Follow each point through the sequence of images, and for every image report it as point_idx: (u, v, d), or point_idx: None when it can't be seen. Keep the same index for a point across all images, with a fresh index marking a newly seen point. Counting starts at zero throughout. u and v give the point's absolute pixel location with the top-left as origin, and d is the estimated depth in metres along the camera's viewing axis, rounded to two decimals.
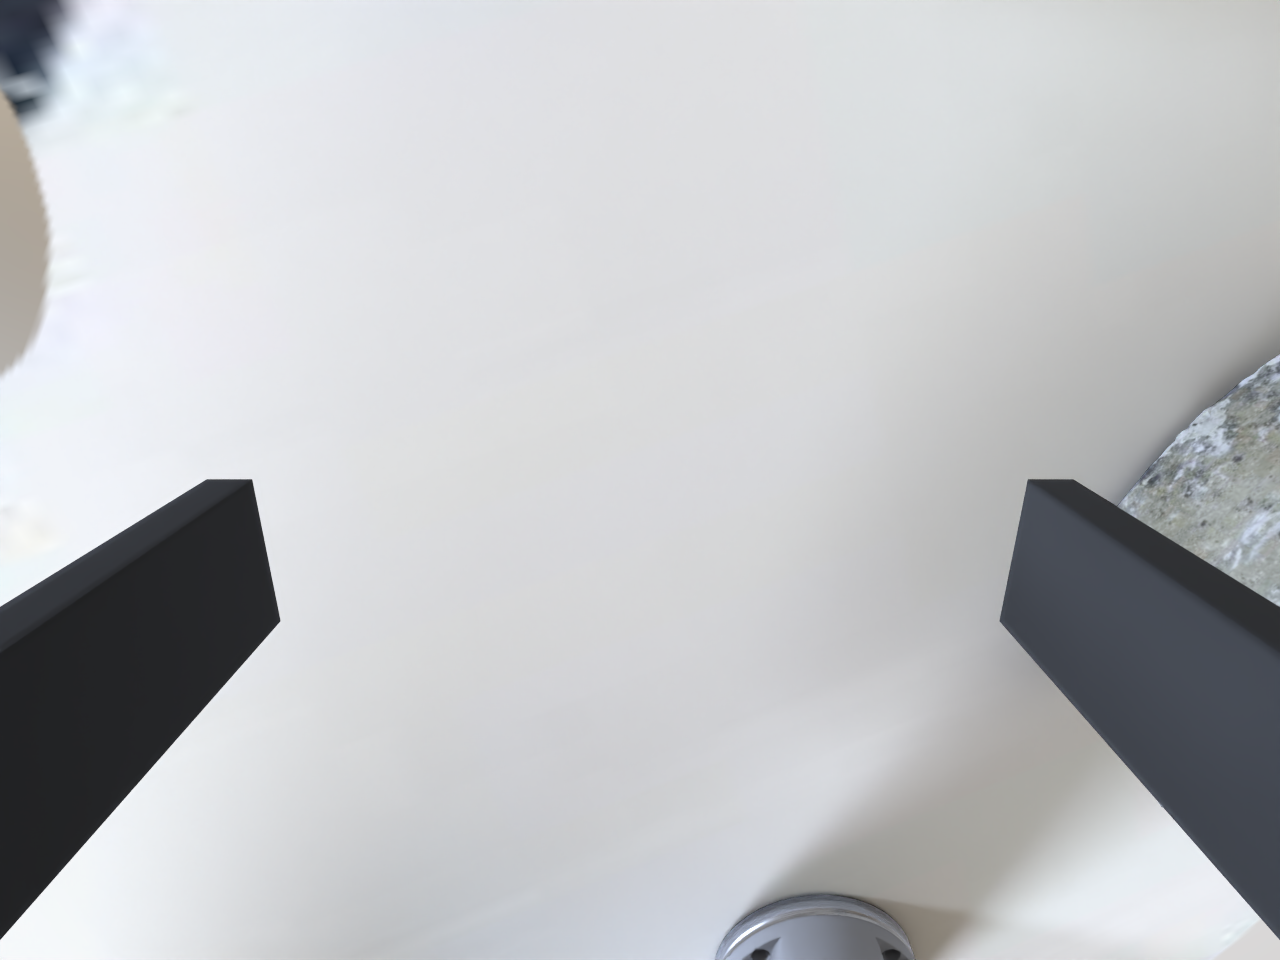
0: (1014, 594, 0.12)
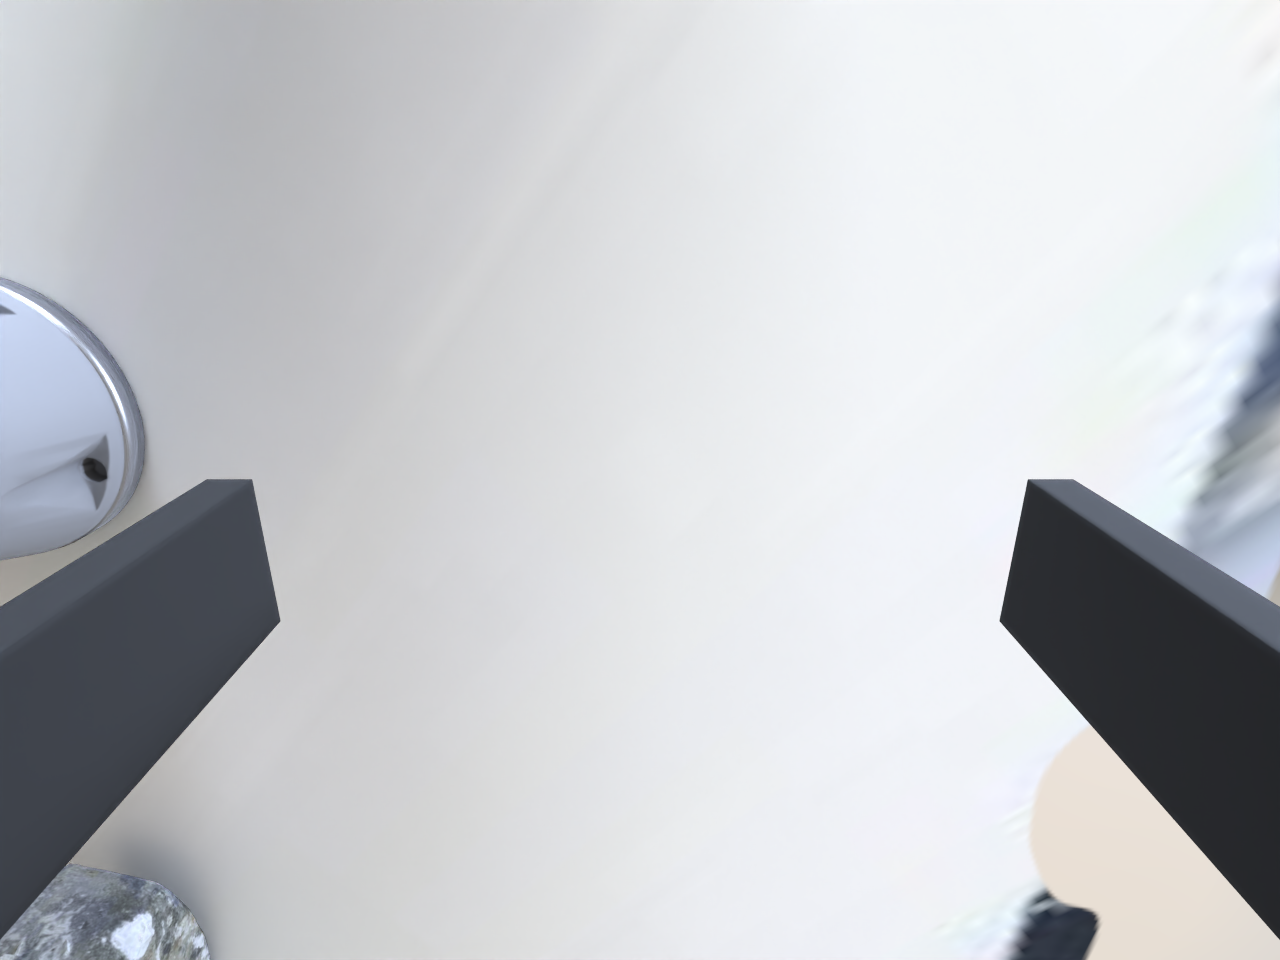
0: (1014, 595, 0.12)
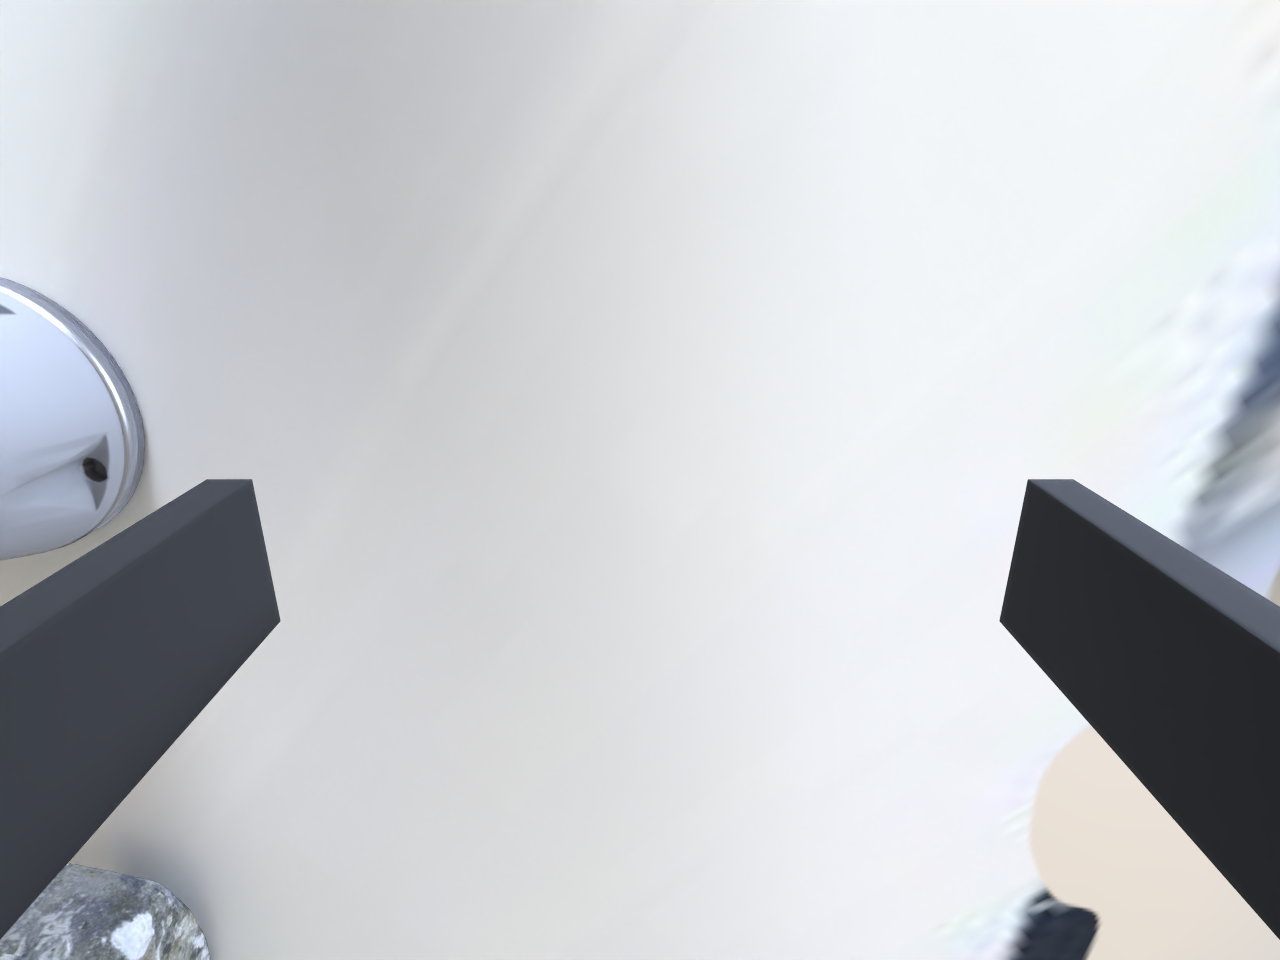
0: (1014, 595, 0.12)
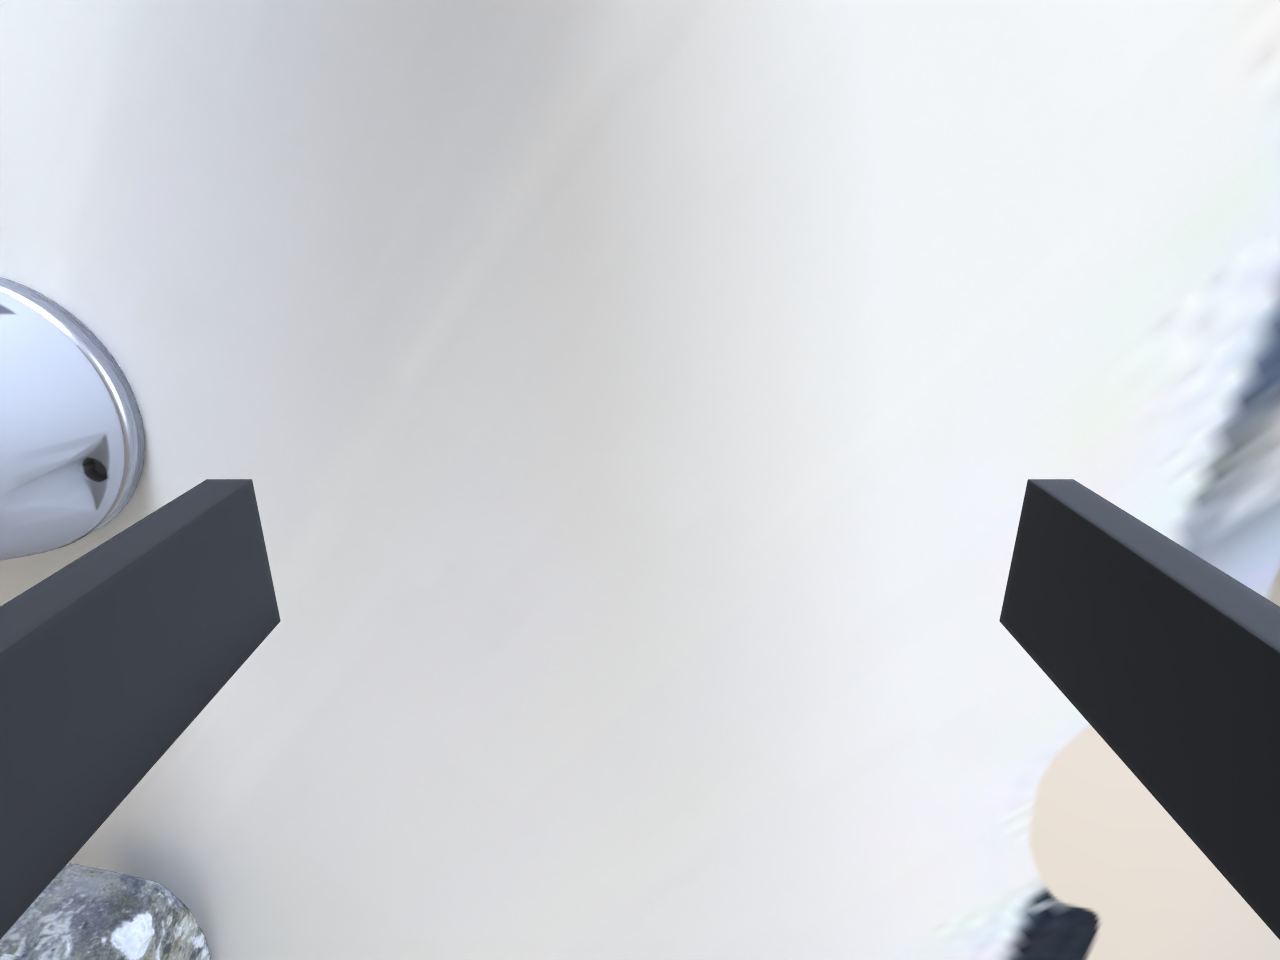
0: (1014, 595, 0.12)
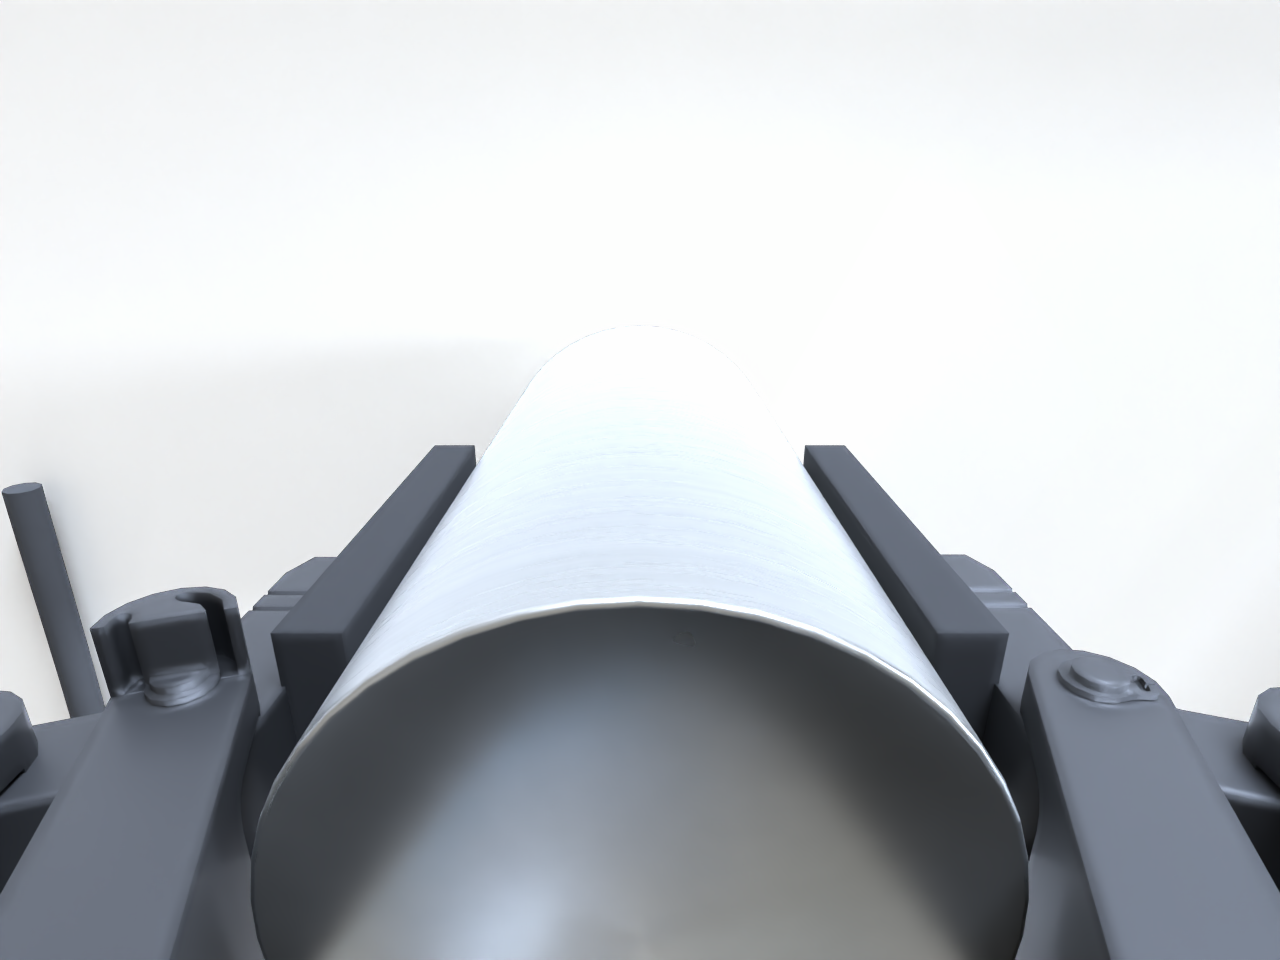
0: None
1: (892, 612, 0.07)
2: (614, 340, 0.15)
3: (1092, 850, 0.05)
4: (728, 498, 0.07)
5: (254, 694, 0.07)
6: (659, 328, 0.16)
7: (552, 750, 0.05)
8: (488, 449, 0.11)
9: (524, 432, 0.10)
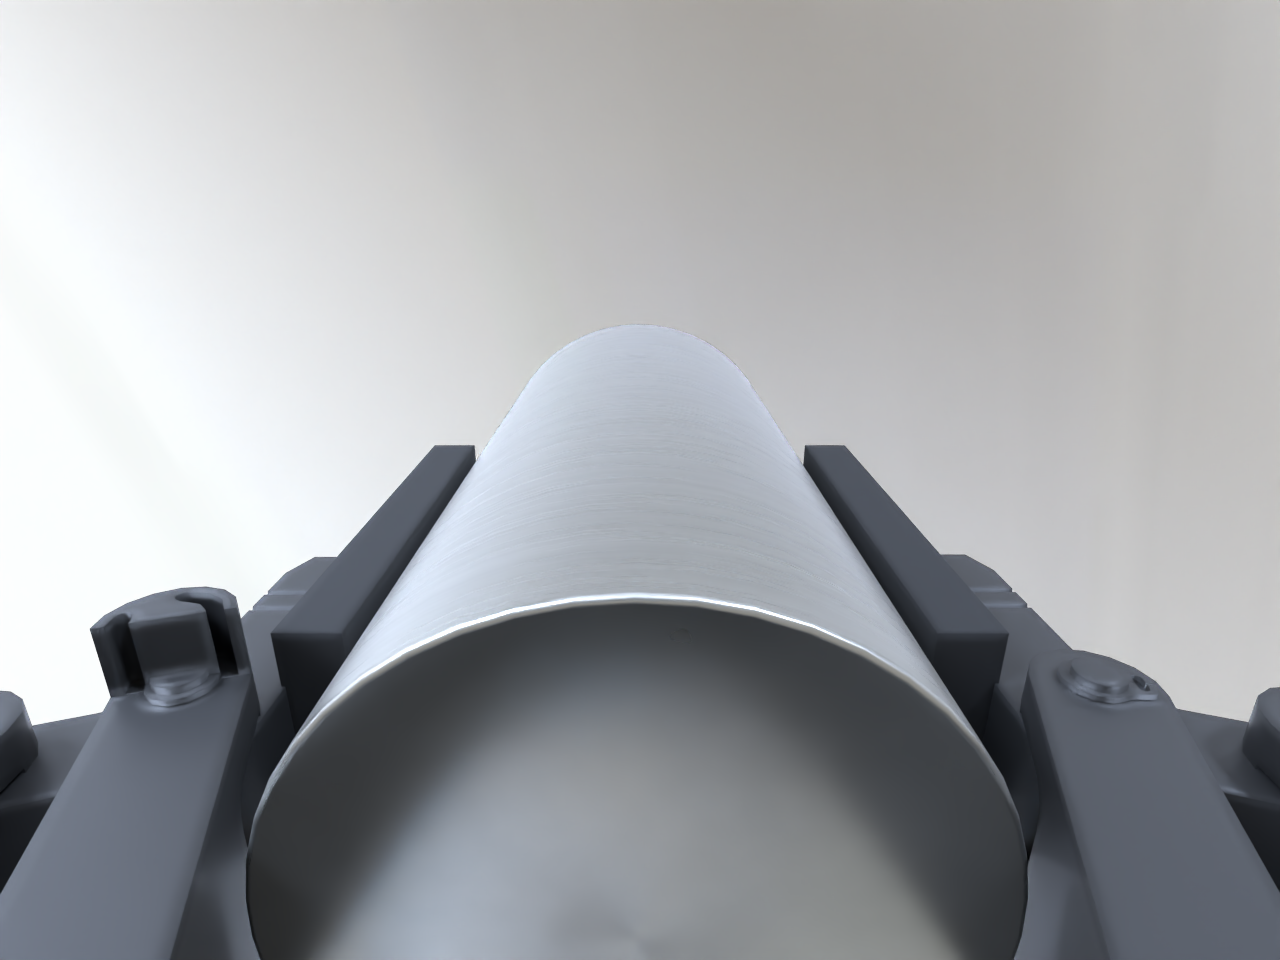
0: None
1: (891, 609, 0.06)
2: (613, 338, 0.15)
3: (1091, 850, 0.05)
4: (726, 494, 0.07)
5: (254, 694, 0.07)
6: (658, 327, 0.16)
7: (549, 747, 0.05)
8: (486, 447, 0.11)
9: (522, 430, 0.10)
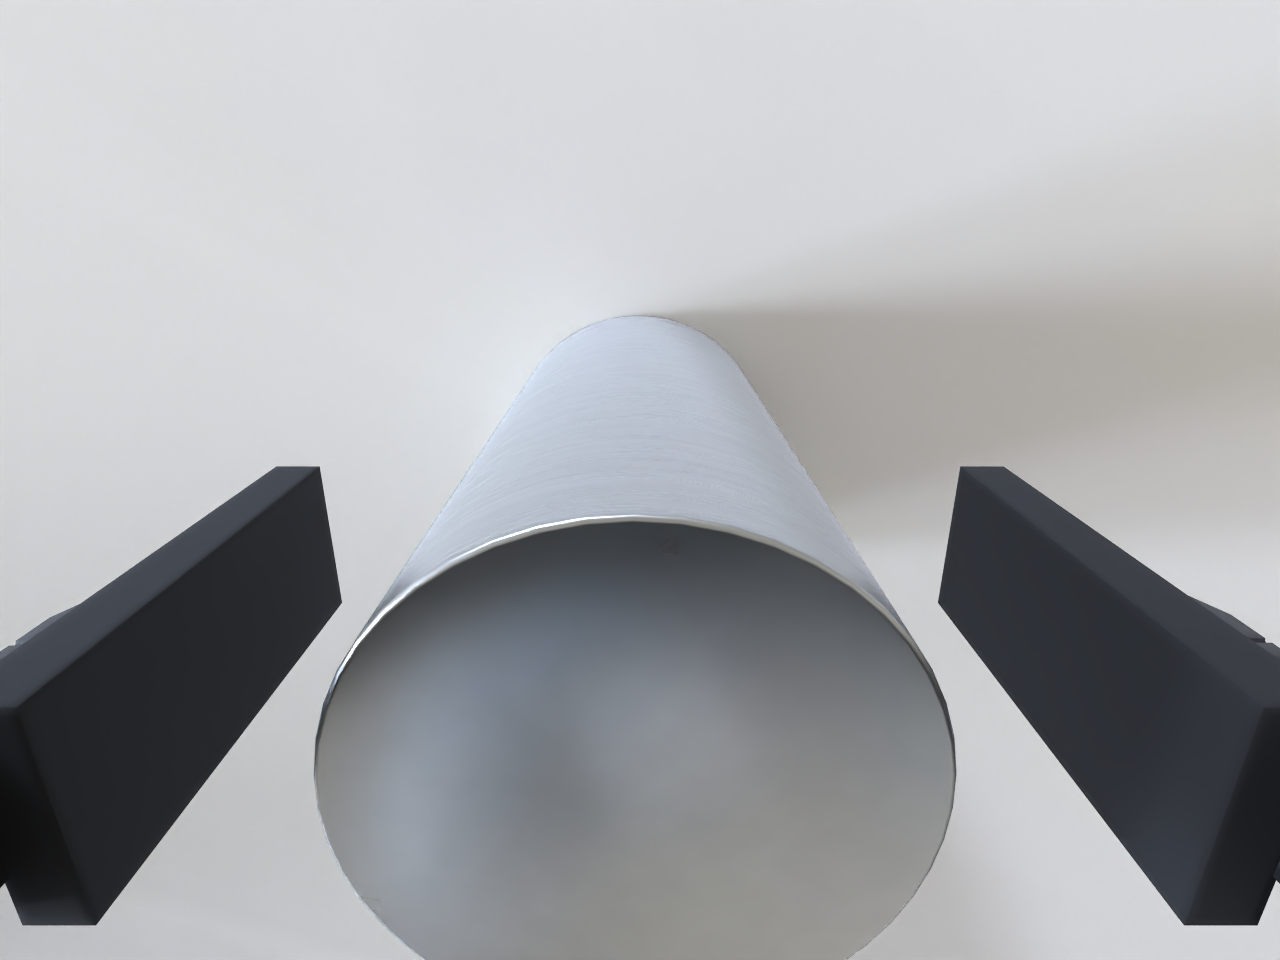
0: (949, 577, 0.13)
1: (848, 544, 0.08)
2: (614, 328, 0.16)
3: None
4: (711, 450, 0.08)
5: None
6: (656, 318, 0.17)
7: (564, 641, 0.06)
8: (500, 423, 0.13)
9: (534, 404, 0.11)
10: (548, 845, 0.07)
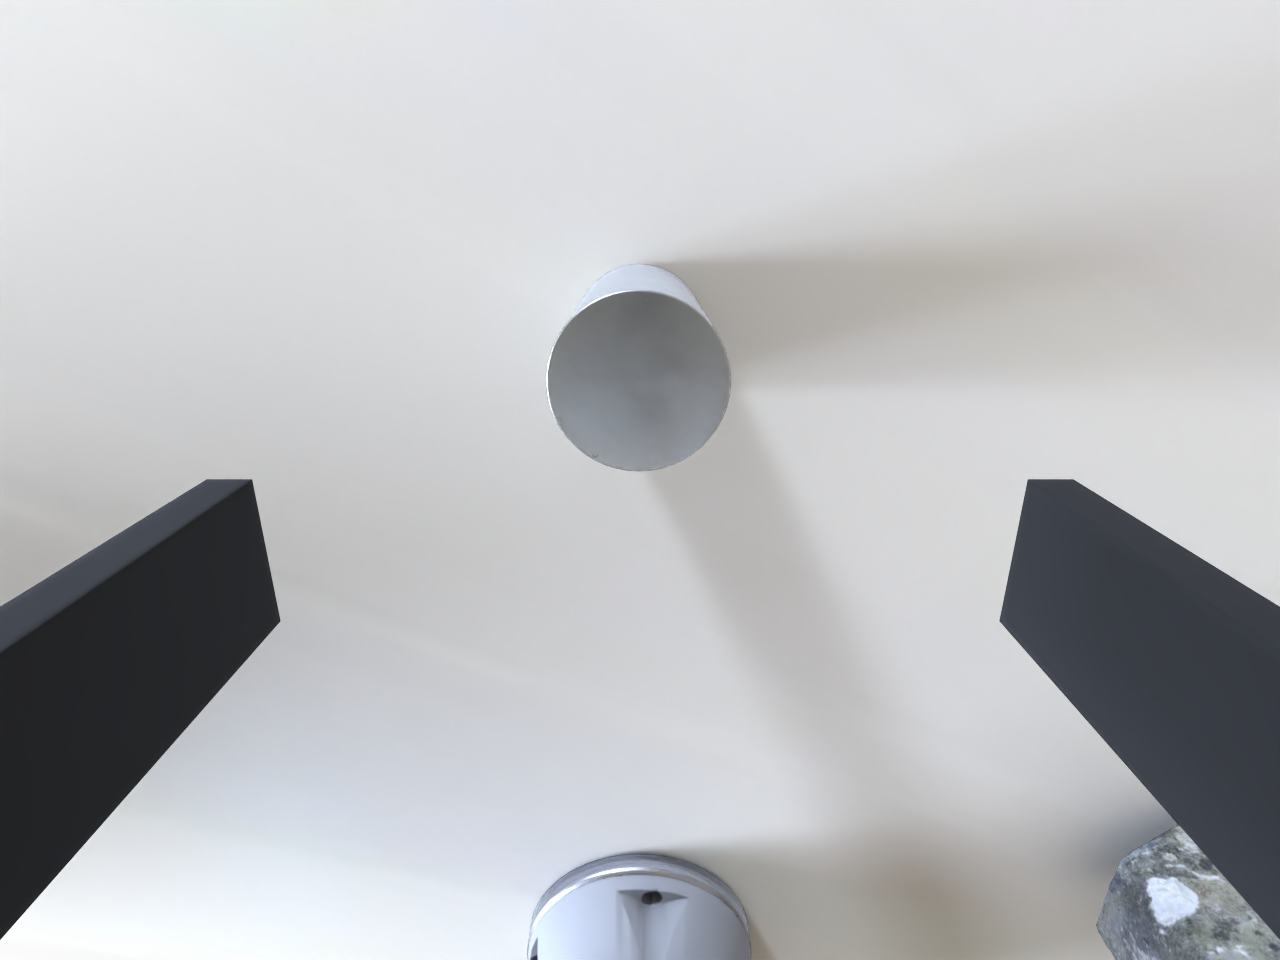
0: (1014, 595, 0.12)
1: (704, 314, 0.25)
2: (627, 267, 0.33)
3: None
4: (662, 286, 0.25)
5: None
6: (648, 265, 0.35)
7: (619, 327, 0.24)
8: None
9: (599, 286, 0.28)
10: (613, 397, 0.25)
